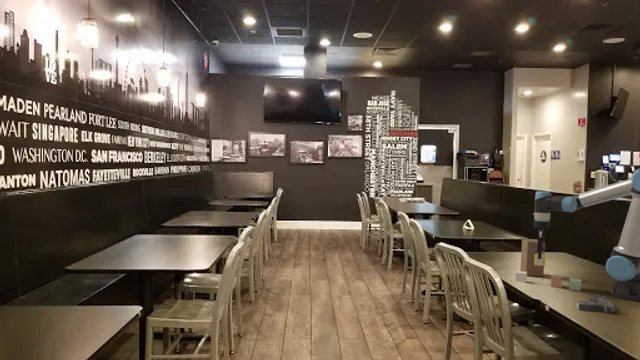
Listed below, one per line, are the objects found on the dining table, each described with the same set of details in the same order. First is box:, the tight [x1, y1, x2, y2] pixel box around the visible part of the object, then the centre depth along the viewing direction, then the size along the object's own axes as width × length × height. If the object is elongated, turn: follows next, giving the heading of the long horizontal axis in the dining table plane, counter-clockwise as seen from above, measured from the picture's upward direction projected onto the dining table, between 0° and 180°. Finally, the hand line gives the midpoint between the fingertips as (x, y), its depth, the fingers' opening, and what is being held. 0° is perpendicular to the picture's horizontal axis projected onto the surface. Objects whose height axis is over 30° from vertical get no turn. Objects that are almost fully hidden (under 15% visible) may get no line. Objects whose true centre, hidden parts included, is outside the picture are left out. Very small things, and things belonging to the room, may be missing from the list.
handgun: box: [575, 294, 617, 314], centre depth 206 cm, size 4×20×15 cm
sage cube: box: [568, 277, 582, 292], centre depth 234 cm, size 5×5×5 cm
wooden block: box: [519, 238, 546, 278], centre depth 263 cm, size 10×10×20 cm
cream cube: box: [515, 270, 528, 284], centre depth 247 cm, size 5×5×5 cm
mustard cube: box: [534, 254, 546, 267], centre depth 242 cm, size 5×5×5 cm
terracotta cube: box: [550, 275, 563, 289], centre depth 238 cm, size 5×5×5 cm
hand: (539, 263), depth 242 cm, fingers closed on mustard cube, 5 cm apart
